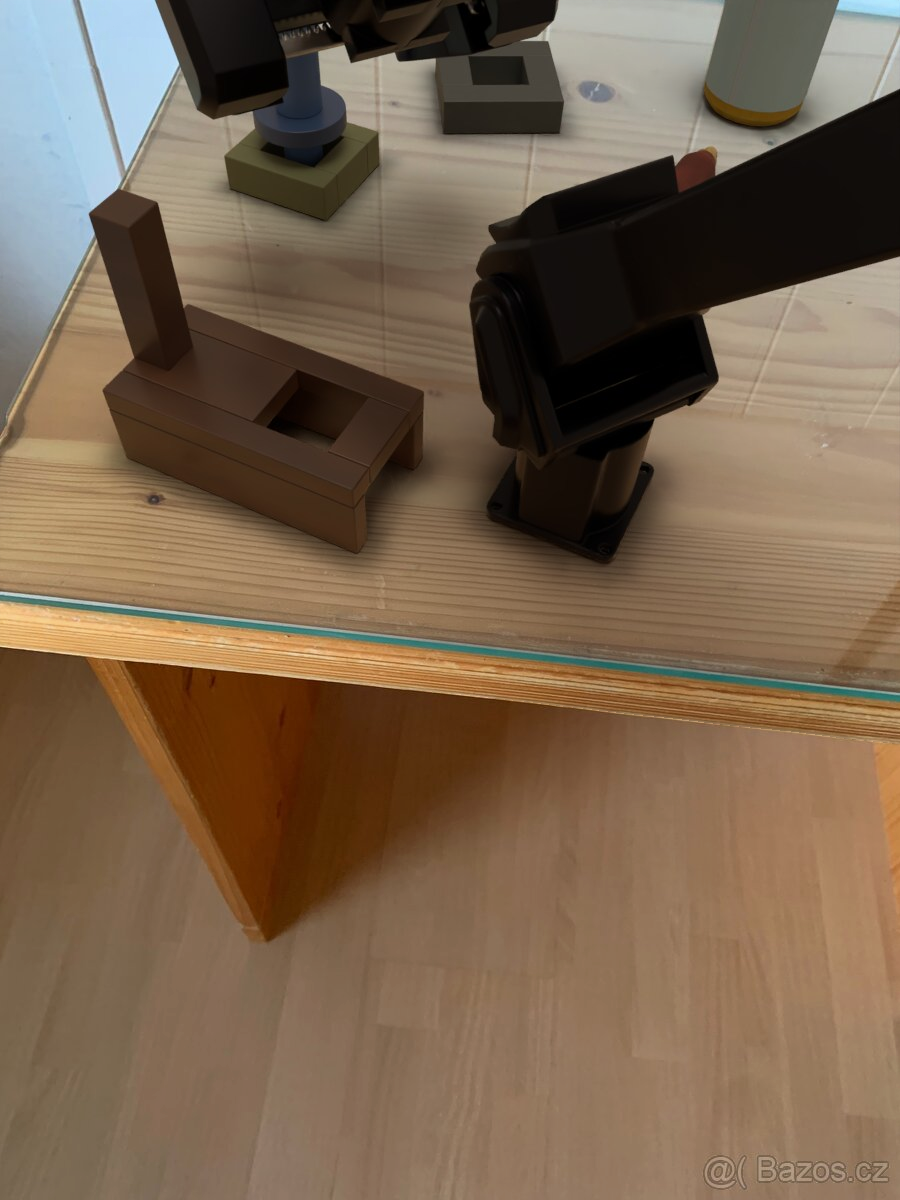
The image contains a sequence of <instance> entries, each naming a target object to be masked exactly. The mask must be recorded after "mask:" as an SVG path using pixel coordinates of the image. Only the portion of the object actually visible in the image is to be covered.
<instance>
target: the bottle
mask: <svg viewBox="0 0 900 1200" xmlns="http://www.w3.org/2000/svg"><path fill="white" fill-rule="evenodd" d="M839 3H840V0H725V1H724V6H723V9H722V14H721V17H720V21H719V24H718V27H717V33H716V36H715V41H714V45H713V48H712V52H711V56H710V59H709V64H708V66H707V67H708V68H707V72H706V76H705V81H704V85H703V91H704V95H705V98H706V100H707V101H708V104H709V106H710V107H711V108H712V109H713V111H714V112H715V113H717V114H718V115H720V116H721V117H723V118H724V119H726V120H729V121H731V122H734V123H736V124H739V125H740V124H741V125H745V126H748V127H749V126H750V127H769V126H770V127H771V126H776V125H779V124H781V123H783V122H786V121H787V120H789V119H790V118H792V117H793V116H795V115H796V114H798V112H800V110H801V109H802V107H803V104H804V101H805V99H806V97H807V95H808V91H809V88H810V86H811V82H812V80H813V77H814V74H815V71H816V68H817V66H818V63H819V59H820V57H821V54H822V51H823V48H824V45H825V42H826V39H827V37H828V34H829V31H830V28H831V25H832V23H833V19H834V17H835V14H836V11H837V8H838V6H839Z"/></svg>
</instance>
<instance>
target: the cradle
mask: <svg viewBox="0 0 900 1200" xmlns="http://www.w3.org/2000/svg"><path fill="white" fill-rule="evenodd" d="M322 146H323V159H322V160H321V161H320V162H319V163H318V164H317V165H316V166H315V167H314V168H313V167H310V166H307V165H304V164H301V163H298V162H295V161H291V160H288V159H285V154H284V147H282V146H278V145H275V144H272V143H270V142H268V141H266V140H265V139H263V138H262V137H261V136H260V135H259V134H258V133H257V131H256V129H255V128H253V129H252V130H251V131H250V132H249V133H248V134H247V135H245V137H243V138H242V139H241V140H240V141H238V143H237V144H235V145H234V146H233V147H232V148H231V149H229V151H228V152H226V153H225V154H224V156H223V158H224V165H225V170H226V176H227V179H228V180H227V181H228V187H229V189H230V190H233V191H236V192H239V193H242V194H245V195H248V196H251V197H255V198H258V199H261V200H264V201H266V202H269V203H273V204H275V205H278V206H281V207H284V208H286V209H287V208H288V209H290V210H293V211H296V212H300V213H302V214H305V215H308V216H312V217H315V218H318V219H320V220H323V221H327V220H328V219H329V218H330V217H331V216H332V215H333V214H334V213H335V211H336V210H338V209H339V208H340V206H342V205H343V204H344V202H346V200H347V199H348V198H349V197H350V196H351V195H352V194H353V193H354V192H355V191H356V190H357V189H358V188H359V187H360V185H362V183H364V181H365V180H366V179H367V178H368V177H369V176H370V175H371V174H372V173H373V171H375V169H376V168H377V167H378V166H379V165H380V133H379V131H378V130H375V129H371V128H368V127H364V126H361V125H357V124H356V123H355V124H354V123H351V122H348V121H347V125H346V128H345V130H344V132H343V133H342V134H341V135H340V136H339V137H338V138H336V139H335V140H333V141H331V142H329V143H327V144H324V145H322Z"/></svg>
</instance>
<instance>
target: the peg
mask: <svg viewBox="0 0 900 1200" xmlns="http://www.w3.org/2000/svg"><path fill="white" fill-rule="evenodd" d="M314 27H315V26H311V28H312V29H313V31H314ZM306 29H307V28H303V30H304V31H305V32H306ZM298 31H299V29H298V30H295V32H296V33H297V34H298ZM287 33H288V35H289V36H290V33H291V31H290V32H287ZM282 34H283V33H281V34H279V35H280V37H281V38H282ZM319 53H320V52H319V51H318V52H314V53H310V54H306V55H302V56H298V57H294V58H290V59H286V61H287V71H288V80H289V89H288V90H287V92H286V94H285V96H284V97H282V98H283V100H284V102H283V103H282V104H279V105H275V106H271V107H267V108H263V109H259V110H256V111H252V119H253V125H254V126H253V127H254V129H256V131H257V133H258V134H259V135H260V136H261V137H262V138H263V139H265V140H266V141H268V142H270V143H272V144H275V145H278V146H282V147H284V154H285V159H288V160H291V161H295V162H298V163H301V164H304V165H307V166H310V167H313V168H314V167H315V166H316V165H317V164H318V163H319V162H320V161H321V160H322V159H323V146H322V145H324V144H327V143H329V142H331V141H333V140H335V139H336V138H338V137H339V136H340V135H341V134H342V133H343V132H344V130H345V128H346V125H347V122H348V116H347V104H346V102H345V100H344V98H343V97H342V96H341V95H340V93H338V92H337V91H335V90H334V89H332V88H330V87H327V86H324V85H322V81H321V68H320V55H319Z"/></svg>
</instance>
